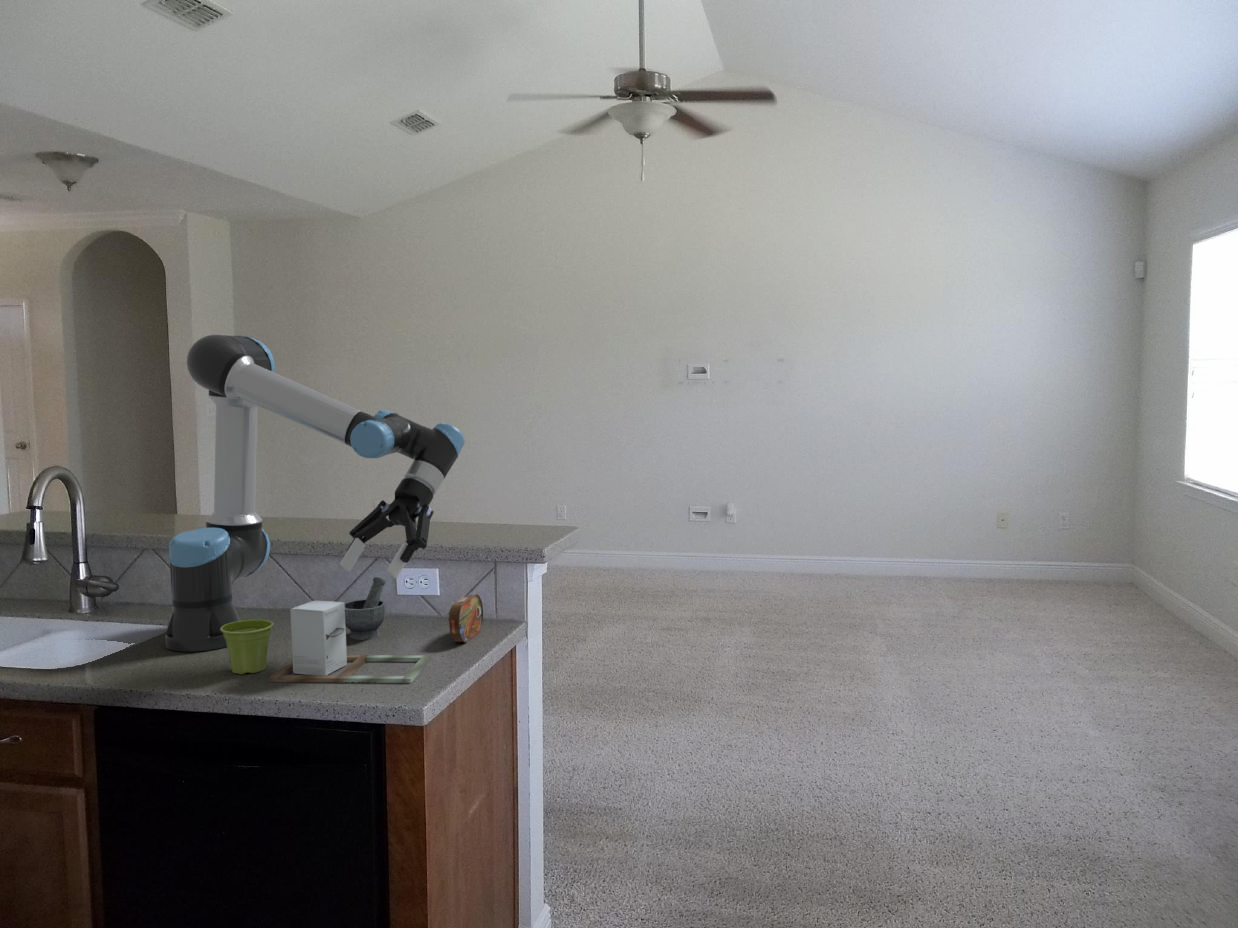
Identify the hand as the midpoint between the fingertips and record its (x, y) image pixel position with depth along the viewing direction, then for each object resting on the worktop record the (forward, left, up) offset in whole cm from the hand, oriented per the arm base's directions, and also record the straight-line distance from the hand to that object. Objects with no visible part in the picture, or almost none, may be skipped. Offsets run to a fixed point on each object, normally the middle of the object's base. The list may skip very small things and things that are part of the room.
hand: (367, 571), depth 190 cm
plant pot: (-20, -10, -17) cm, 29 cm away
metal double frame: (+1, -10, -17) cm, 20 cm away
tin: (+17, +13, -17) cm, 27 cm away
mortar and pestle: (-5, +14, -17) cm, 23 cm away
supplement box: (-6, -10, -17) cm, 21 cm away
